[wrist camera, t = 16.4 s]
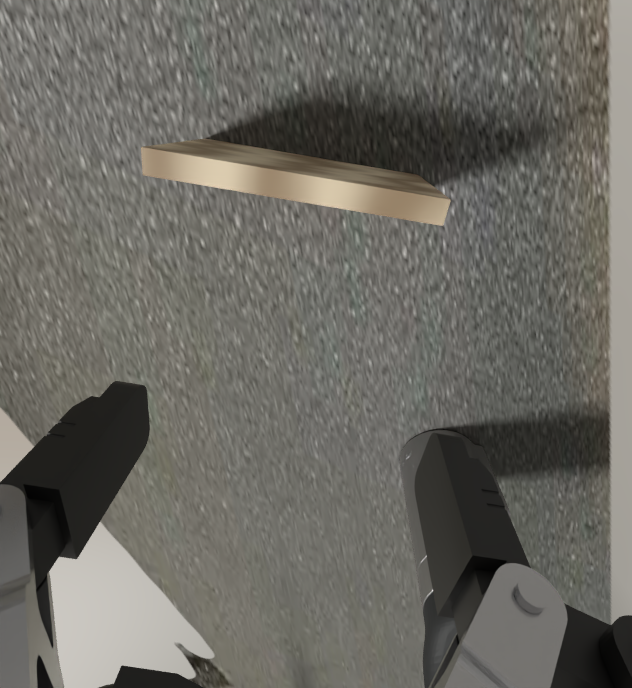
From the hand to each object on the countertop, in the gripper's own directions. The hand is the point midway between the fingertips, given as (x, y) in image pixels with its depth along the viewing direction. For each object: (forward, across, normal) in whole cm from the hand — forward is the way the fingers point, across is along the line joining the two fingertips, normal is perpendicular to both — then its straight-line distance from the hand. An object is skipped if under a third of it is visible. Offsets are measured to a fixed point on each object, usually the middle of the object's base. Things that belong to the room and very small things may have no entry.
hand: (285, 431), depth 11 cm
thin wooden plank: (+28, +2, -4) cm, 28 cm away
